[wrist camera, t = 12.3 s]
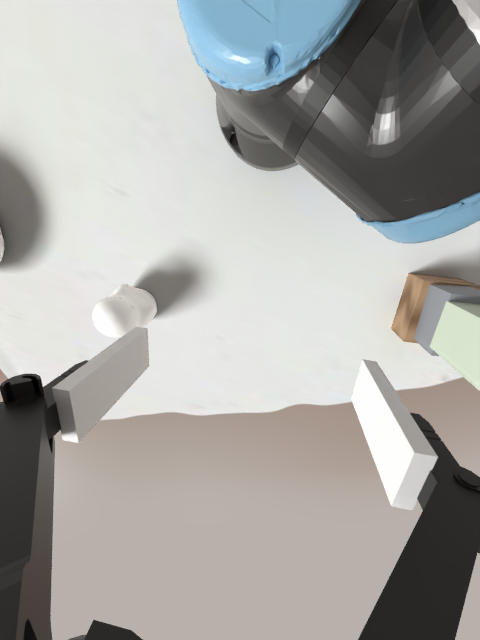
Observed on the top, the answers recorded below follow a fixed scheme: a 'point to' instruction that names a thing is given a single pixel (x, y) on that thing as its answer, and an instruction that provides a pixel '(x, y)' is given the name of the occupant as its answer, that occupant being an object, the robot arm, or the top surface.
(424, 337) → the tower top
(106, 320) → the figurine
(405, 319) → the tower base
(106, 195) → the top surface
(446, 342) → the sage block
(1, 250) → the vase
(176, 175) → the top surface
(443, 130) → the robot arm
